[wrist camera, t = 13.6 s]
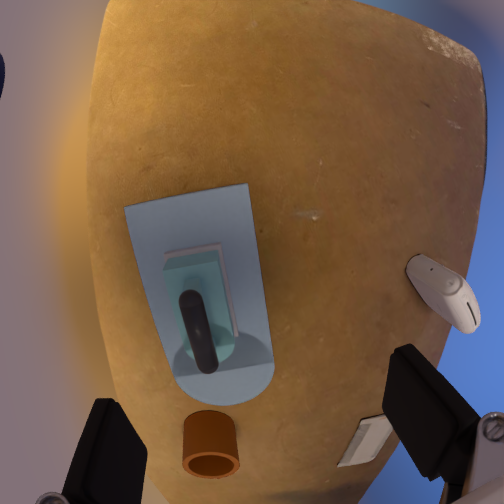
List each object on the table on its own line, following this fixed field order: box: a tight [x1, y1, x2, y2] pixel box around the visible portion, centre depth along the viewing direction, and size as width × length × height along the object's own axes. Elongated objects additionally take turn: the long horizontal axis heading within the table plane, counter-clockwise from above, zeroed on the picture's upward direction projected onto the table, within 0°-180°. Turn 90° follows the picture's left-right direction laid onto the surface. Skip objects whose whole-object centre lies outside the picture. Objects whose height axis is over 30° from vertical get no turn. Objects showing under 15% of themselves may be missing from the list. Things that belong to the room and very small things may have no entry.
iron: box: [162, 242, 239, 374], centre depth 28 cm, size 12×6×9 cm, turn 9°
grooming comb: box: [337, 414, 393, 467], centre depth 52 cm, size 18×10×1 cm, turn 174°
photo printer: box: [406, 254, 480, 334], centre depth 35 cm, size 10×4×12 cm, turn 44°
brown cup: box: [182, 411, 240, 479], centre depth 41 cm, size 9×12×9 cm
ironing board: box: [124, 183, 274, 406], centre depth 36 cm, size 13×28×5 cm, turn 9°
